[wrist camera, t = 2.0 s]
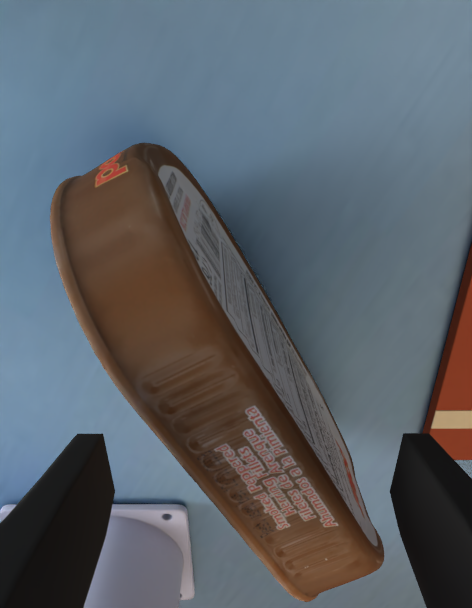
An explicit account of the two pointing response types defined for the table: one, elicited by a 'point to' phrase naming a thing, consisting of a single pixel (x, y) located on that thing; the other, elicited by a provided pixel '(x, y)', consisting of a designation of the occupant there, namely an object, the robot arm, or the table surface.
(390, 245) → the table surface
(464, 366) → the towel
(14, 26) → the table surface
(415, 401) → the table surface
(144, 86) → the table surface
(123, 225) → the tin
